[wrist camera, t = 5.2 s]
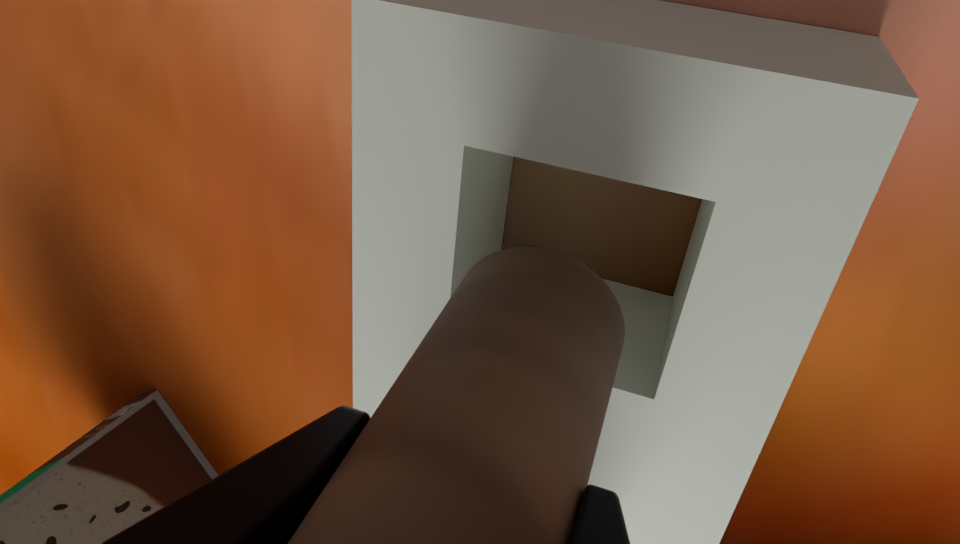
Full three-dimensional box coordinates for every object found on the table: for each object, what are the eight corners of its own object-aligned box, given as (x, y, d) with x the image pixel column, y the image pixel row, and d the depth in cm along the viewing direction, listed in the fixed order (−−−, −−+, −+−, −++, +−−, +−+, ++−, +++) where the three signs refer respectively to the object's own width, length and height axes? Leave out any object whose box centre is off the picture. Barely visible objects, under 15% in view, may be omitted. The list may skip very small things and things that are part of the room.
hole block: (437, -37, 15) (351, -5, 12) (879, 37, 13) (919, 98, 10) (405, 505, 25) (353, 603, 22) (657, 593, 23) (641, 715, 20)
